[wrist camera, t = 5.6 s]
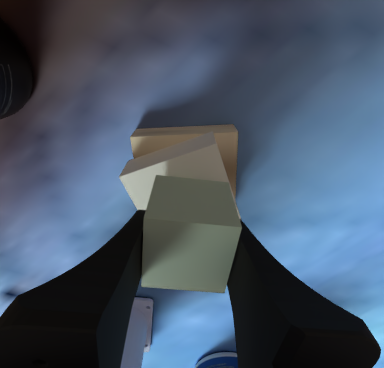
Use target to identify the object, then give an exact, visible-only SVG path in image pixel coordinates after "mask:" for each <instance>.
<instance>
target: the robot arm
mask: <svg viewBox="0 0 384 368" xmlns="http://www.w3.org/2000/svg"><path fill="white" fill-rule="evenodd" d="M145 212H146V210H138V211H136V213H135V214H134V215H133V216H132V218H131V219H130V220H129V221H128V222H127V223H126V224H125V225H124V227H123V228H122V229H121V230H120V231H119V232H118V233H117V234H116V235H115V236H114V237H113V238H111V239H110V240H109V241H108V242H107V243H106V244H105V245H104V246H102V247H101V248H100V249H99V250H98V251H96V252H95V253H94V254H92V255H91V256H90V257H88V258H87V259H85V260H84V261H83V262H81V263H80V264H78V265H77V266H75V267H73V268H72V269H70V270H68V271H67V272H65V273H63V274H62V275H60V276H58V277H56V278H54V279H52V280H50V281H48V282H46V283H44V284H42V285H40V286H38V287H36V288H33V289H31V290H29V291H27V292H25V293H23V294H20V295H18V296H17V297H16V298H15V300H14V301H13V302H12V303H11V304H10V305H9V306H8V308H7V309H6V310H5V311H4V313H3V314H2V315H1V317H0V368H141V366H142V360H143V353H144V352H149V351H150V342H151V328H152V314H153V300H152V299H150V298H138V297H135V295H136V291H137V288H138V285H139V281H140V278H141V275H142V252H143V223H144V215H145ZM240 222H241V226H242V229H241V233H240V237H239V241H238V244H237V248H236V252H235V255H234V259H233V263H232V267H231V270H230V274H229V278H228V281H227V286H228V291H229V296H230V300H231V305H232V311H233V318H234V328H235V338H236V349H237V360H238V368H372V367H373V366H374V365H375V364H376V363H377V361H378V359H379V358H380V353H381V349H380V346H379V344H378V342H377V341H376V339H375V338H374V336H373V335H372V333H371V332H370V330H369V329H368V327H367V326H366V324H365V323H364V321H363V320H362V319H360V318H358V317H357V316H355V315H353V314H351V313H350V312H348V311H346V310H344V309H343V308H341V307H339V306H337V305H336V304H334V303H332V302H331V301H329V300H328V299H326V298H325V297H323V296H321V295H320V294H318V293H317V292H316V291H314V290H313V289H311V288H310V287H309V286H307V285H306V284H305V283H303V282H302V281H301V280H299V279H298V278H297V277H295V276H294V275H293V274H292V273H291V272H289V271H288V270H287V269H286V268H285V267H284V266H283V265H281V264H280V263H279V262H278V261H277V260H276V259H275V258H274V257H273V256H272V255H271V254H270V253H269V252H268V251H267V250H266V249H265V248H264V247H263V245H262V244H261V243H260V242H259V241H258V240H257V239H256V237H255V236H254V235H253V234H252V233H251V231H250V230H249V229H248V228H247V226H246V225H245V224H244V223H243V222H242V220H241V219H240Z"/></svg>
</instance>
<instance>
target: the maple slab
mask: <svg viewBox="0 0 384 368" xmlns="http://www.w3.org/2000/svg"><path fill="white" fill-rule="evenodd" d="M211 131H213V134H214V137H215V140H216V143H217V146H218V149H219V152H220V155H221V158H222V161H223V165H224V168H225V171H226V174H227V177H228V180H229V183H230V186H231V189H232V192H233V195H234V198H235V195H236V172H237V149H238V131H237V129H236V128H235V126H234V125H233V124H228V125H207V126H185V127H164V128H143V129H136V130H135V131H134V133H133V134H132V135H131V137H130V139H131V145H132V151H133V157H134V159H135V158H138V157H140V156H143V155H146V154H149V153H152V152H155V151H157V150H160V149H163V148H166V147H169V146H172V145H174V144H177V143H180V142H183V141H186V140H189V139H192V138H194V137H197V136H200V135H203V134H206V133H209V132H211Z"/></svg>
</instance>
